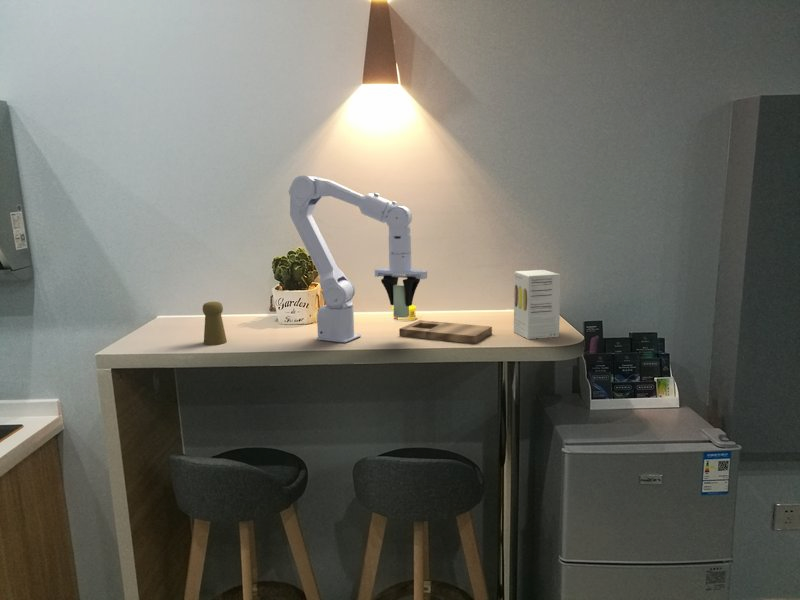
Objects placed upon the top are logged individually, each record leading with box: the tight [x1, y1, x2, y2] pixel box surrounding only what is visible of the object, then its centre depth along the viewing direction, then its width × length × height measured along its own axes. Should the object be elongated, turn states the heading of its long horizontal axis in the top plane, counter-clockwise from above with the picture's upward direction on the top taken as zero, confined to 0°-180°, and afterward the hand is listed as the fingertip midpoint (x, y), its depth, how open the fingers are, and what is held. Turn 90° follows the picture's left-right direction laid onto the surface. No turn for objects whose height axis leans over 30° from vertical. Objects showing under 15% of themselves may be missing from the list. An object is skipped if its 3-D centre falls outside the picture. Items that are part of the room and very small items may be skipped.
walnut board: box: [398, 319, 493, 345], centre depth 173 cm, size 22×12×2 cm, turn 61°
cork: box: [202, 301, 227, 346], centre depth 170 cm, size 6×6×11 cm
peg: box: [393, 283, 410, 318], centre depth 167 cm, size 4×4×8 cm
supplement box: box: [513, 269, 562, 340], centre depth 170 cm, size 10×9×17 cm
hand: (401, 305), depth 167 cm, fingers closed on peg, 4 cm apart
